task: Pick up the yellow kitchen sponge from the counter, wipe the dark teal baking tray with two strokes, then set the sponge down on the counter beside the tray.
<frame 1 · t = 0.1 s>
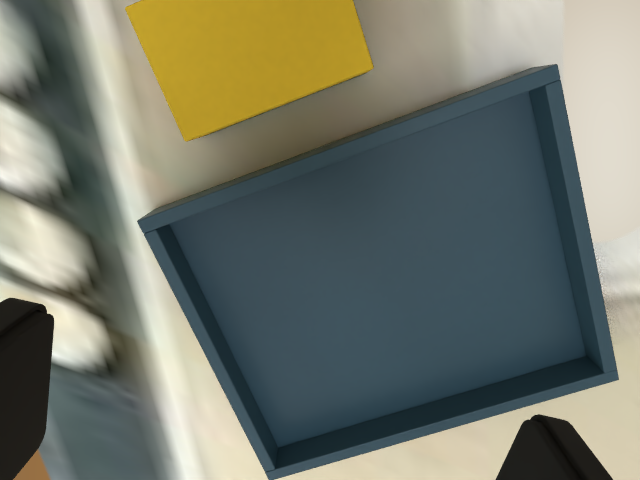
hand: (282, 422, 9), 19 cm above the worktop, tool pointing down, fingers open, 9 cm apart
sponge: (262, 47, 25), on the worktop
tray: (384, 285, 29), on the worktop
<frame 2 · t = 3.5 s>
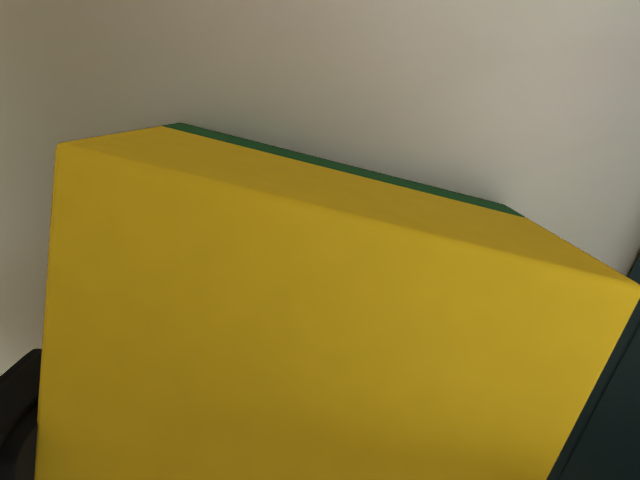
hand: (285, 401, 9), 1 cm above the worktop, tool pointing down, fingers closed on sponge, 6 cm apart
sponge: (288, 381, 10), on the worktop, touching gripper
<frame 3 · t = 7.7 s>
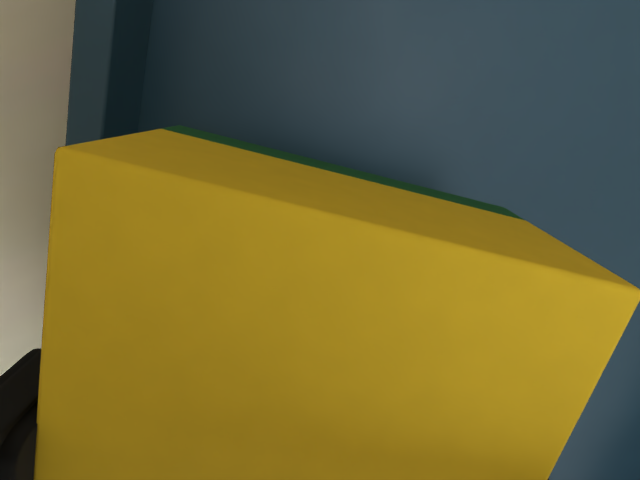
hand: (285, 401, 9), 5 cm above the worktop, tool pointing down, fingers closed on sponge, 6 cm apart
sponge: (287, 383, 10), point 4 cm above the worktop, touching gripper
tray: (457, 204, 13), on the worktop
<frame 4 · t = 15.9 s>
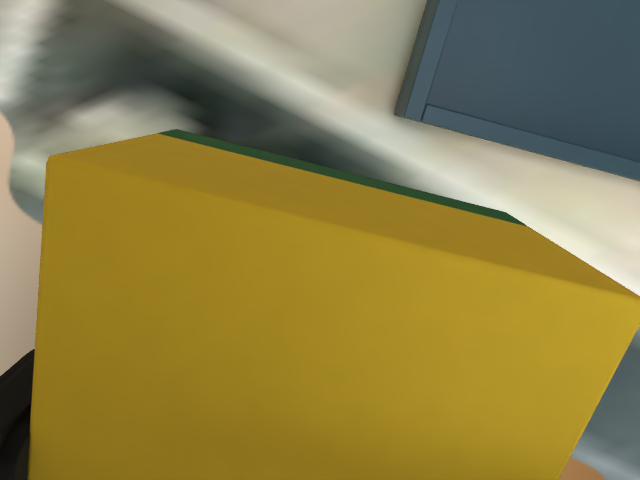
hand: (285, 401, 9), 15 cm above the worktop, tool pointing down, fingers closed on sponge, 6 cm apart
sponge: (286, 390, 10), point 14 cm above the worktop, touching gripper
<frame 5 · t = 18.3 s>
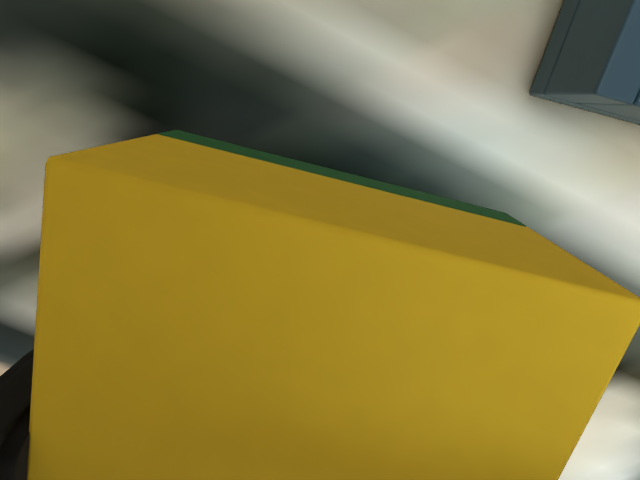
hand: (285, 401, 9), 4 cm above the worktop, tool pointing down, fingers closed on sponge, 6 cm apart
sponge: (286, 390, 10), point 3 cm above the worktop, touching gripper
when the fingers open (0 cm above the worktop, at t = 19.8 s): sponge stays where it is, on the worktop.
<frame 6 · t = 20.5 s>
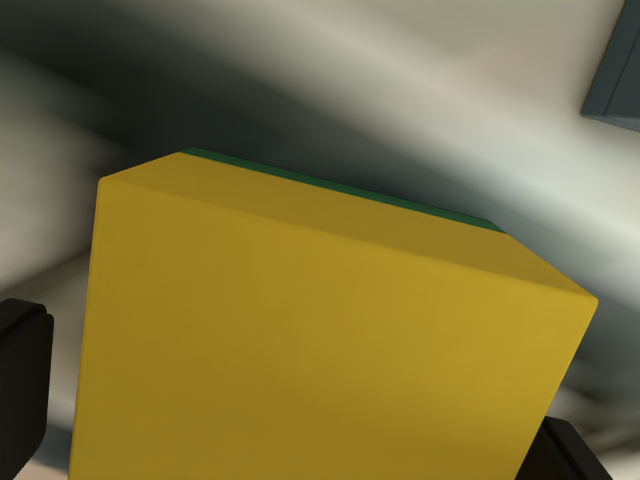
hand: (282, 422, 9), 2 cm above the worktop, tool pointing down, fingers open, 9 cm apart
sponge: (291, 382, 11), on the worktop
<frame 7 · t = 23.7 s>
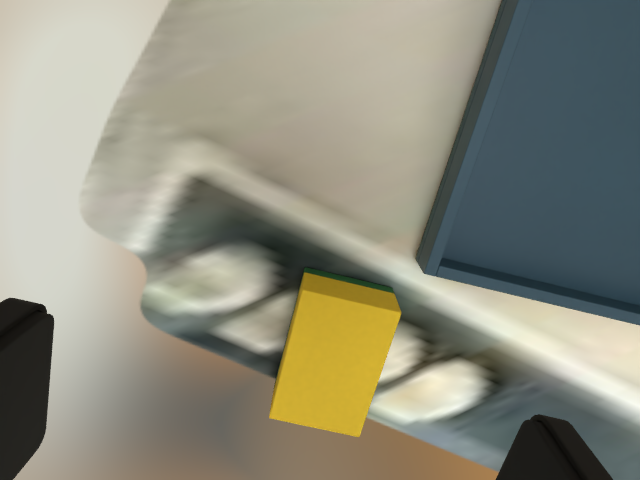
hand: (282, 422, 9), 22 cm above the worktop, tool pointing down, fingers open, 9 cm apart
sponge: (331, 337, 33), on the worktop
tray: (617, 126, 28), on the worktop
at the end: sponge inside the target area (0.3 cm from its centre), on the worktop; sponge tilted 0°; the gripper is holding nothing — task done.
